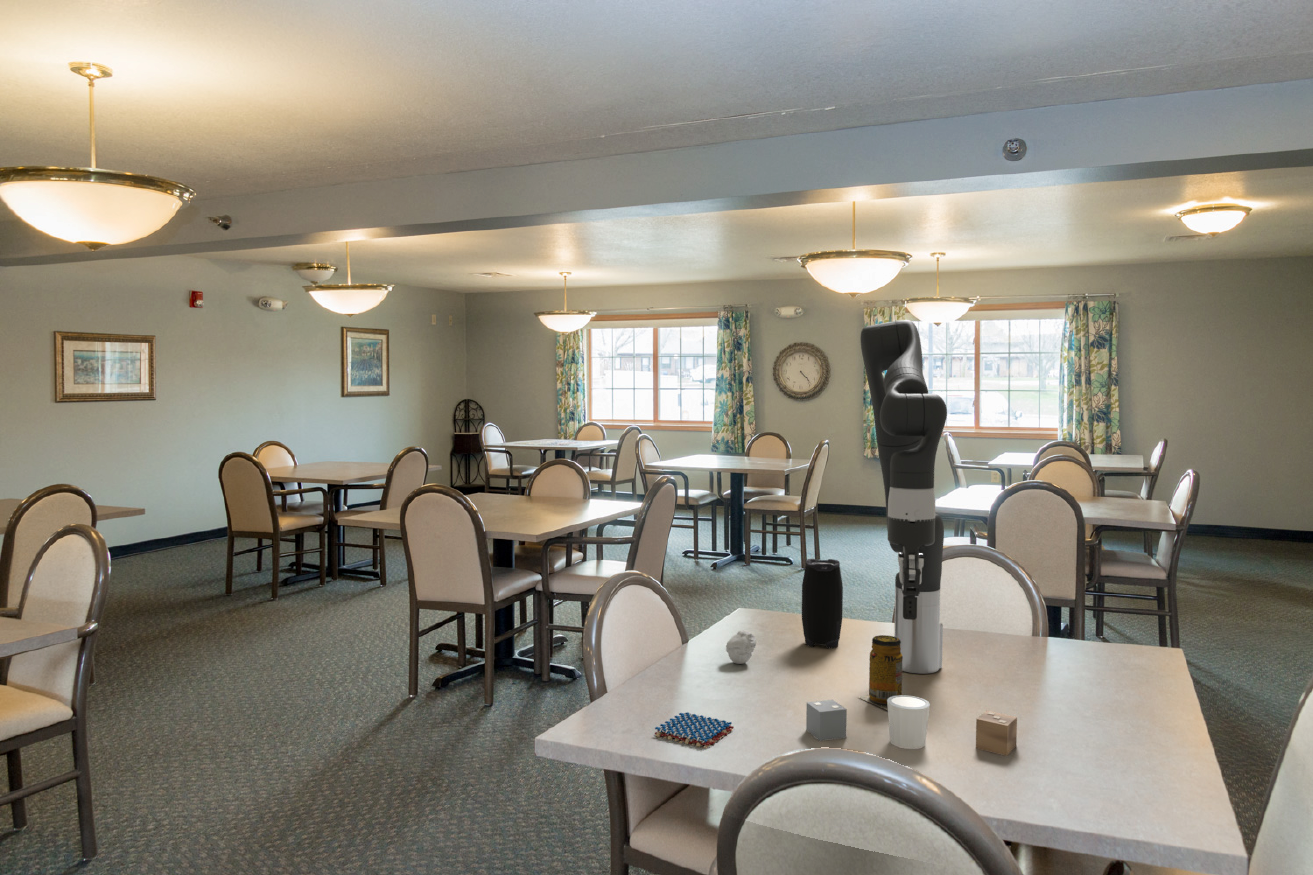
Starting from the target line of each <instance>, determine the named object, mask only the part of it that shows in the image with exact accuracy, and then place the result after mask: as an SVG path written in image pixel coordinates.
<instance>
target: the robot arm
mask: <svg viewBox="0 0 1313 875" xmlns="http://www.w3.org/2000/svg"><path fill="white" fill-rule="evenodd" d="M915 324H916V323H914V321H912V320H909V319H898V320H895V321H886V322H882V323H876V324H872V325H871V324H870V325H867V326H864V327H863V328H862V330H861V332H860V349H861V354H862V355H861V356H862V360H863V365H864V369H865V374H866V378H867V379H866V380H867V383H868V387H869V389H868V390H869V394H870V398H871V405H872V413H873V420H874V429H875V430H874V431H875V437H876V445H877V452H878V453H877V454H878V458H879V462H880V463H879V464H880V467H881V468H880V469H881V474H882V480H883V487H884V489H883V490H884V498H885V511H886V514H885V515H886V527H887V528H886V530H887V540H888V543H889V546H890V548H891V550H892V551H893V552H894V553H897V562H898V567H899V571H898V572H897V573H896V574H895V578H894V580H895V582H894V583H895V584H894V633H893V634H894V636H893V637H897V638H899V639H900V641H901V644H900V647H901V650H900V652H901V654H902V656H903V660H902V672H906V673H911V674H922V675H923V674H924V675H925V674H933V673H936V672H938V671H939V670H940V669H941V668H943V638H944V637H943V636H944V635H943V634H944V633H943V632H944V631H943V630H944V628H943V627H944V625H943V623H942V622H941V583H942V582H941V581H942V572H943V571H942V570H943V551H944V541H945V529H944V528H945V525H944V521H943V519H942V517H941V515H939V514H937V513H936V497H935V463H936V458H937V457H936V456H937V451H938V447H939V444H940V441H941V438H942V437H941V436H942V435H943V431H944V427H945V425H946V423H947V422H946V421H947V416H948V409H947V405H946V402H945V401H944V399H943V398H942V397H941V396H940V395H938V394H935V393H929V389H928V386H927V383H926V380H925V377H924V369H923V366H924V365H923V364H924V363H923V351H922V350H923V349H922V343H921V337H920V333H919V331H918V330H919V329H918V328H917V326H916V325H915ZM884 371H886V372H885V375H883V372H884Z"/></svg>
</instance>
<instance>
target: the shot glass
mask: <svg viewBox="0 0 1313 875" xmlns="http://www.w3.org/2000/svg"><path fill="white" fill-rule="evenodd" d="M887 705H888V710H887V716H888V727H889V728H888V729H889V740H890V744H891V745H893V746H895V747H898V748H901V749H905V750H919V749H921V748H924V747H926V742H927V741H926V740H927V734H928V733H927V731H928V723H929V714H930V706H931V705H930V702H929V700H926V699H925V698H921V697H918V696H913V695H905V694H904V695H903V694H902V695H899V696H892V697H889V698H888V700H887Z"/></svg>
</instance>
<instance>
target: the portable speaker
mask: <svg viewBox="0 0 1313 875" xmlns="http://www.w3.org/2000/svg"><path fill="white" fill-rule="evenodd" d="M840 564H841V563H840V560H837V559H832V558H829V559H826V560H825V559H816V558H807V559H806V560H805V566H804V573H803V577H802V584H801V623H802V632H803V637H804V643H805V644H804V645H805V646H807V647H809V648H814V646H815V645H816V646H817V645H818V646H825V647H826V648H827V649H831V648H832V649H834V647H835V648H837V647H838V646H839V641H840V637H841V629H842V624H843V607H844V606H843V605H844V604H843V603H844V602H843V601H844V600H843V599H844V598H843V597H844V596H843V595H844V587H843V586H844V585H843V578H842V572H841V565H840Z"/></svg>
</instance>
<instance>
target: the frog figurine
mask: <svg viewBox="0 0 1313 875" xmlns="http://www.w3.org/2000/svg"><path fill="white" fill-rule="evenodd" d="M756 645H757V639H756V636H755V635H754V634H752V632H749V631H747V630H745V629H744V630H738V631H737V632H736V634H734V635H732V636H731V638H730V639H729V640H728V641H727V642H726V646H725V648H726V649H725V652H727V654H728V657H729V659H730V660H731V662H733V663H734V664H738V665H743V664H745V663H747V662H749V660H751V657H752V655H753V654H752V653H753V652H754V650H755V648H756Z"/></svg>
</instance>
